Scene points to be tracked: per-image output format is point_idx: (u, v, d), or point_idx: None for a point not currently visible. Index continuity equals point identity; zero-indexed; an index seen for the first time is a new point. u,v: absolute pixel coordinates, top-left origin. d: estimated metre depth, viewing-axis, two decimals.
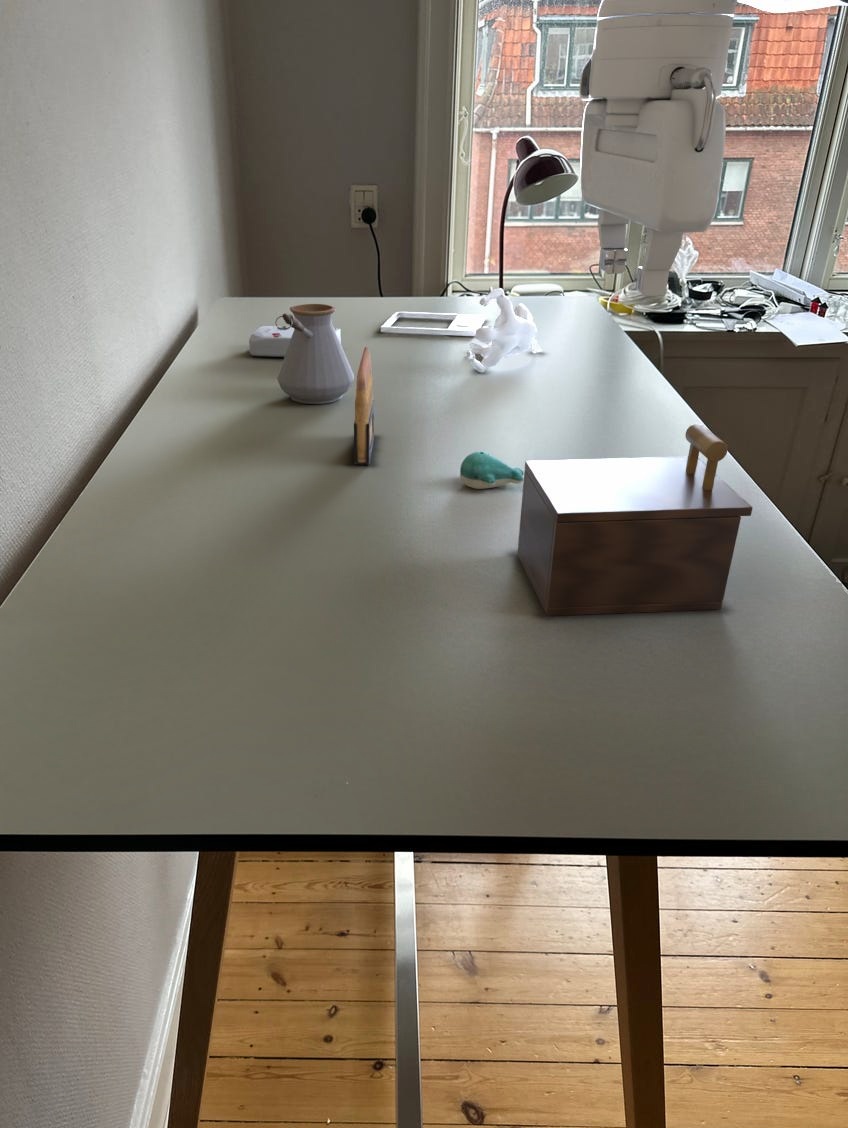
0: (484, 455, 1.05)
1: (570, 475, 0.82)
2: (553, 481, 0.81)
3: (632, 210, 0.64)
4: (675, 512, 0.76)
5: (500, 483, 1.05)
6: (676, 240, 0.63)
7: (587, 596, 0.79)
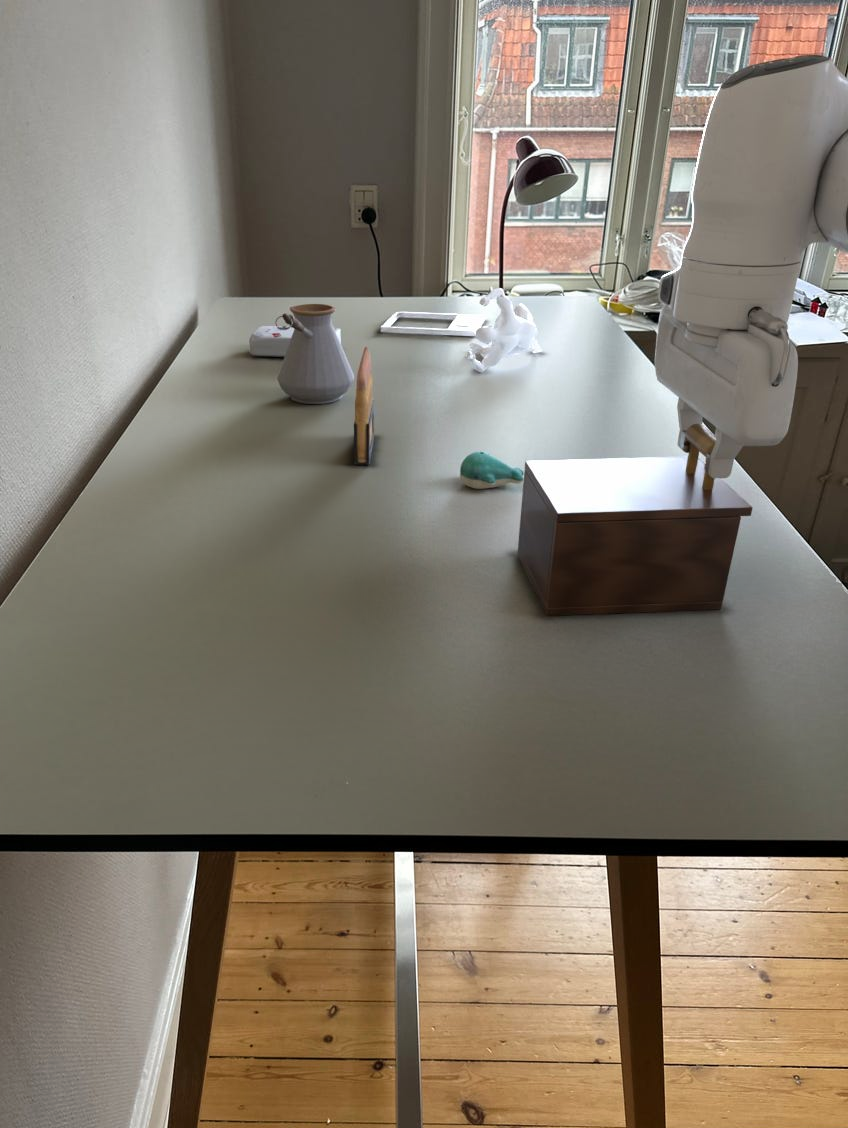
0: (484, 455, 1.05)
1: (570, 475, 0.82)
2: (553, 481, 0.81)
3: (711, 415, 0.74)
4: (675, 512, 0.76)
5: (500, 483, 1.05)
6: None
7: (587, 596, 0.79)
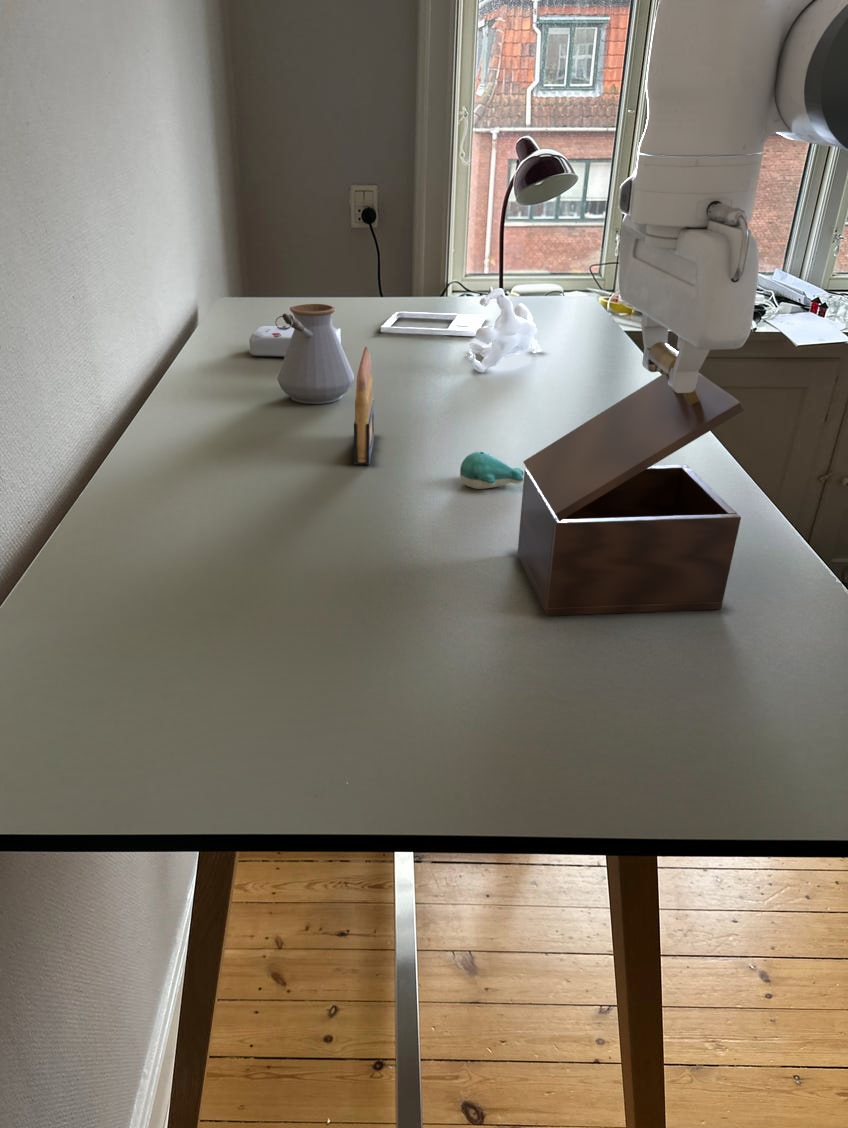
0: (484, 455, 1.05)
1: (564, 458, 0.81)
2: (549, 474, 0.81)
3: (672, 322, 0.70)
4: (665, 450, 0.73)
5: (500, 483, 1.05)
6: None
7: (587, 596, 0.79)
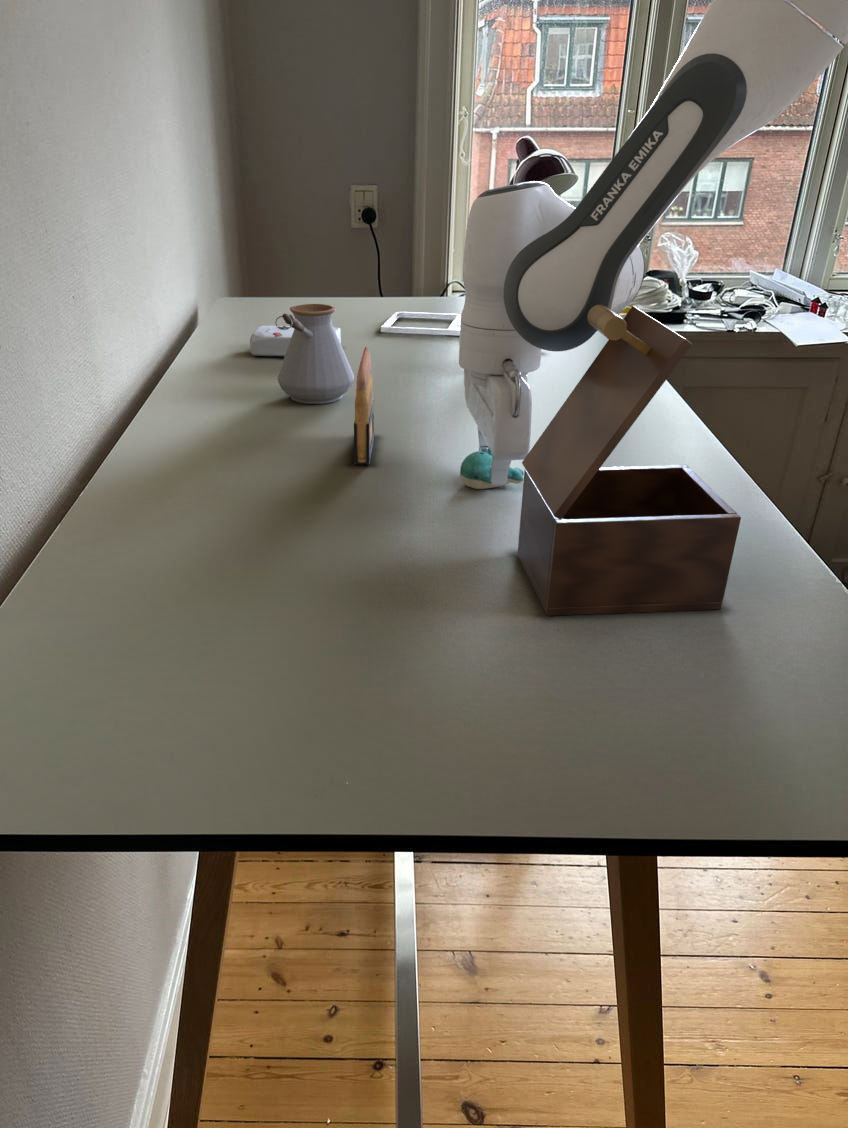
0: (484, 455, 1.05)
1: (552, 449, 0.81)
2: (543, 471, 0.81)
3: (485, 436, 1.00)
4: (632, 414, 0.71)
5: None
6: None
7: (587, 596, 0.79)
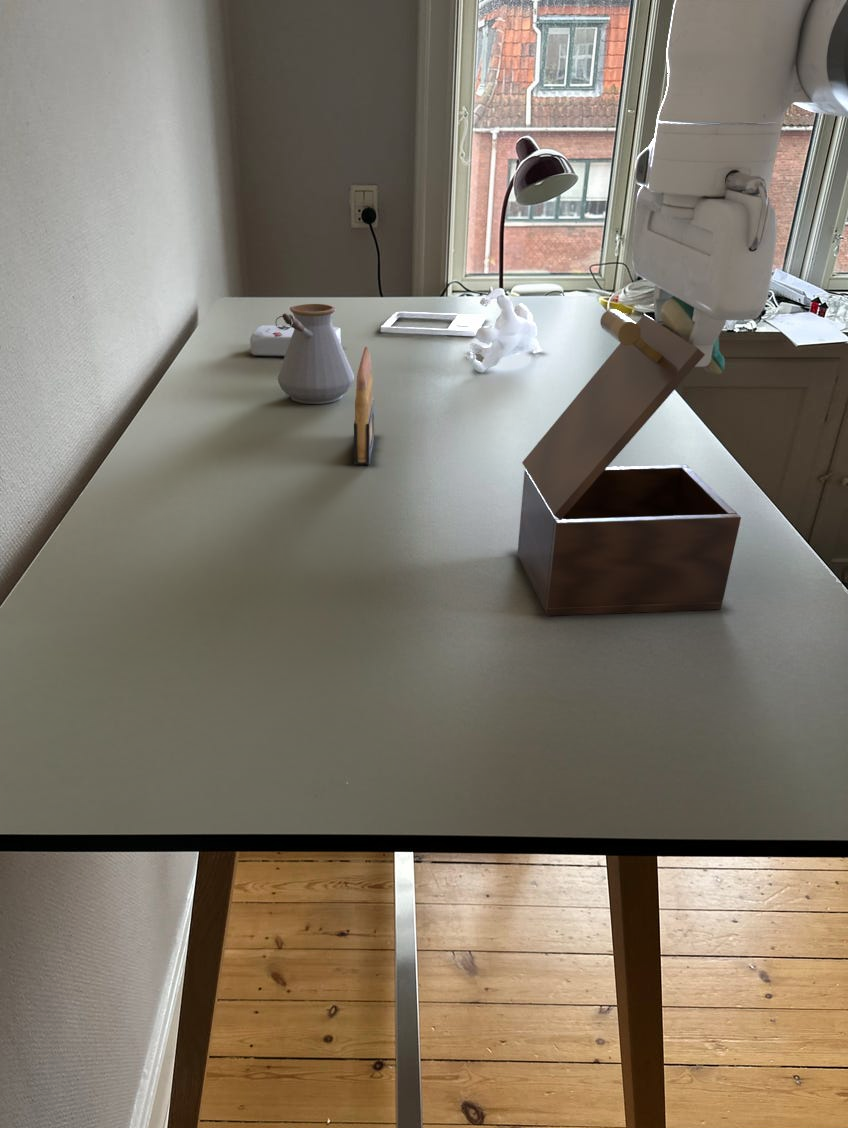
0: None
1: (555, 450, 0.81)
2: (544, 471, 0.81)
3: (687, 293, 0.70)
4: (640, 419, 0.71)
5: None
6: (721, 319, 0.70)
7: (587, 596, 0.79)
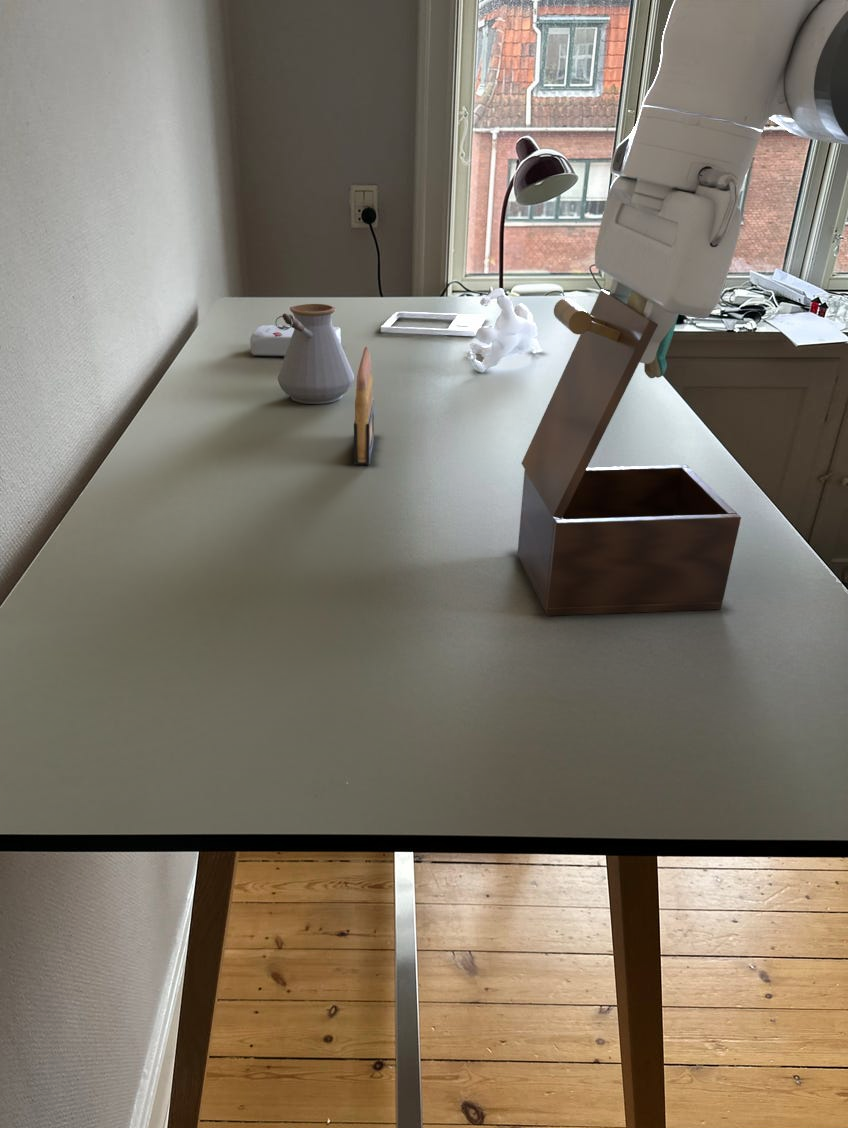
0: None
1: (546, 447, 0.81)
2: (540, 471, 0.81)
3: (642, 284, 0.69)
4: (611, 404, 0.71)
5: None
6: (671, 317, 0.69)
7: (587, 596, 0.79)
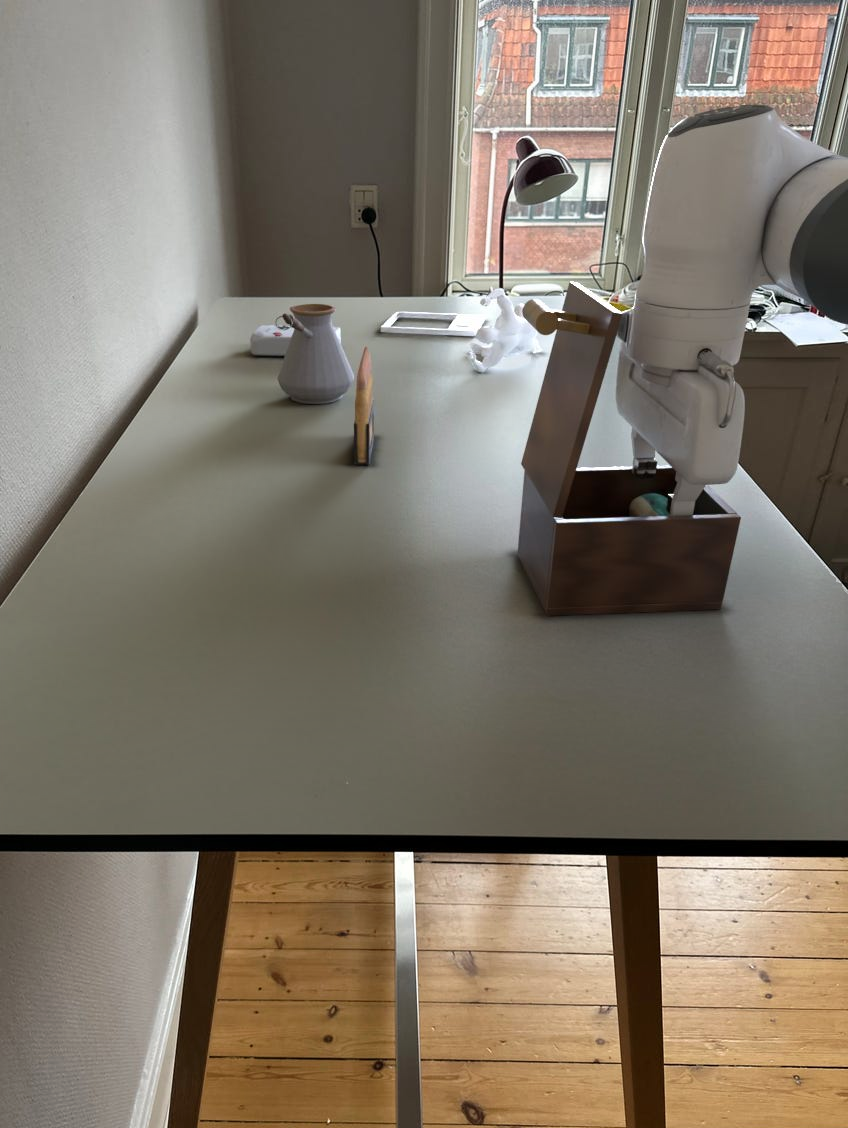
0: None
1: (540, 446, 0.81)
2: (537, 471, 0.81)
3: (664, 452, 0.75)
4: (590, 399, 0.70)
5: None
6: None
7: (587, 596, 0.79)
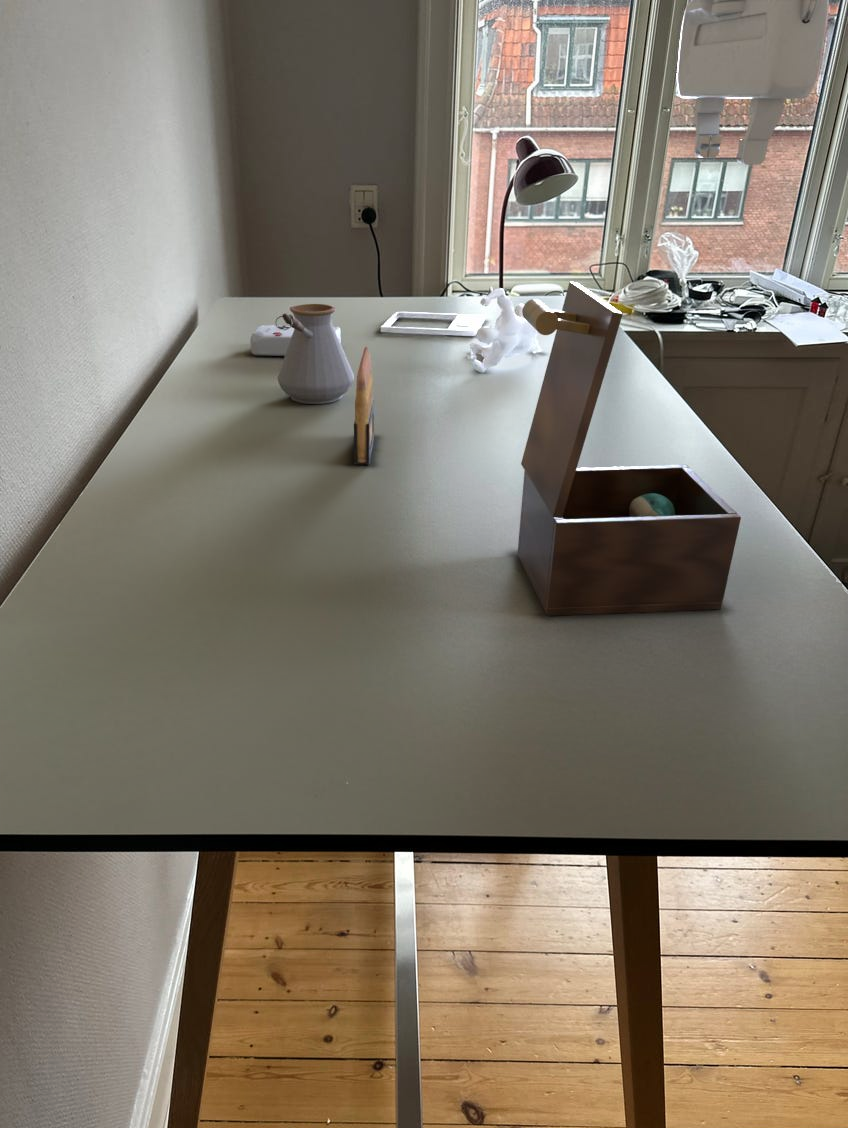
0: None
1: (540, 446, 0.81)
2: (537, 471, 0.81)
3: (738, 86, 0.73)
4: (590, 399, 0.70)
5: None
6: (777, 110, 0.72)
7: (587, 596, 0.79)
